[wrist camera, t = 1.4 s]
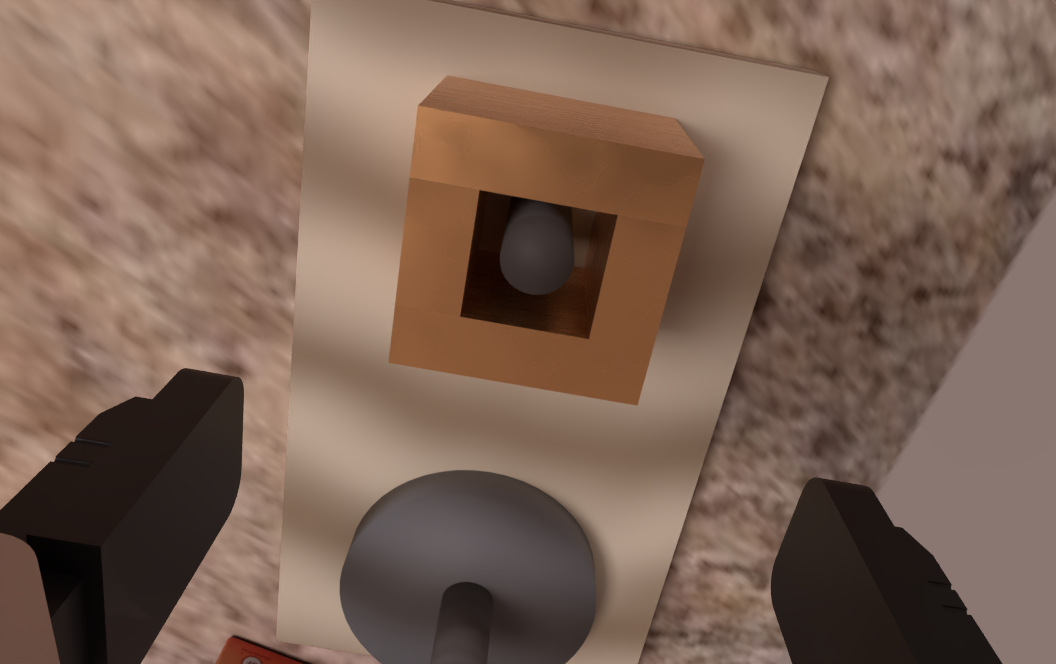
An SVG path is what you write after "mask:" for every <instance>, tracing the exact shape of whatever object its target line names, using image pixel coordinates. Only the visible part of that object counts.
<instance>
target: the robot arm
mask: <svg viewBox="0 0 1056 664" xmlns="http://www.w3.org/2000/svg"><path fill="white" fill-rule="evenodd" d="M243 406H244V388H243V382H242V380H241V379H240V378H239V377H235V376H229V375H223V374H217V373H211V372H205V371H200V370H194V369H188V368H183V369H181V370H180V371H179V372H178V373H177V374H176V375H175V376H174V377H173V378H172V379H171V380H170V381H169V382H168V383H167V385H166V386H165V387H164V388H163V389H162V390H161V391H160V392H159V393H158V394H157V395H156V396H155V397H154V398H153V399H147V398H141V397H134V398H132V399H129V400H127V401H125V402H123V403H121V404H119V405H117V406H115V407H113V408H111V409H108V410H106V411H104V412H102V413H100V414H99V415H98V416H97V417H96V418H95V419H94V420H93V421H92V422H91V423H89V424H88V425H87V426H86V427H85V428H84V429H83V430H82V431H81V432H80V433H79V434H78V435H77V436H76V439H75V442H70V443H69V444H68V445H67V446H66V447H65V448H64V449H63V450H62V451H61V452H60V453H59V454H58V455H57V456H56V459H55V461H54V462H51V461H50V462H49V463H48V464H47V465H46V466H45V467H44V468H43V469H42V470H41V471H40V472H39V473H38V474H37V475H36V476H35V477H34V478H33V479H32V480H31V481H30V482H29V483H28V484H27V485H26V486H25V487H24V488H23V489H22V490H21V491H20V492H19V493H18V494H17V495H15V496H14V497H13V498H12V499H11V500H10V501H9V502H8V503H7V504H6V505H5V506H4V507H3V508H2V509H1V510H0V664H141V662H142V660H143V659H144V657H145V655H146V654H147V652H148V650H149V649H150V647H151V645H152V644H153V642H154V640H155V639H156V637H157V635H158V634H159V632H160V630H161V629H162V627H163V625H164V624H165V622H166V620H167V619H168V617H169V615H170V614H171V612H172V610H173V609H174V607H175V605H176V604H177V602H178V600H179V599H180V597H181V595H182V594H183V592H184V590H185V589H186V587H187V585H188V584H189V582H190V580H191V579H192V577H193V575H194V574H195V572H196V570H197V569H198V567H199V565H200V564H201V562H202V560H203V559H204V557H205V555H206V554H207V552H208V550H209V549H210V547H211V545H212V544H213V542H214V540H215V538H216V537H217V535H218V533H219V532H220V530H221V528H222V527H223V525H224V523H225V522H226V520H227V518H228V517H229V515H230V513H231V511H232V508H233V506H234V503H235V500H236V497H237V493H238V489H239V484H240V479H241V467H242V437H243ZM771 598H772V604H773V608H774V611H775V614H776V617H777V620H778V623H779V626H780V629H781V632H782V635H783V638H784V641H785V644H786V647H787V649H788V652H789V655H790V658H791V661H792V664H1002V663H1001V661H1000V659H999V658H998V656H997V655H996V653H995V652H994V650H993V649H992V647H991V645H990V644H989V642H988V641H987V639H986V638H985V636H984V634H983V633H982V631H981V630H980V628H979V627H978V625H977V624H976V622H975V620H974V619H973V617H972V616H971V615H967V608H966V606H965V605H964V603H963V602H962V600H961V599H960V597H959V595H958V594H957V592H956V591H955V590H951V583H950V581H949V580H948V578H947V577H946V575H945V574H944V572H943V571H942V569H941V567H940V566H939V564H938V563H937V561H936V559H935V558H934V556H933V555H932V554H931V553H930V552H929V551H927V550H926V549H925V548H924V547H923V546H922V545H920V543H918V542H917V541H916V540H915V539H914V538H913V537H912V536H911V535H910V534H908V533H907V532H906V531H905V530H904V529H903V528H900V527H894V525H893V523H892V522H891V520H890V518H889V517H888V515H887V513H886V512H885V510H884V509H883V507H882V505H881V503H880V502H879V500H878V498H877V497H876V495H875V493H874V492H873V491H872V489H870V488H869V487H867V486H863V485H857V484H852V483H846V482H840V481H834V480H828V479H822V478H812V479H811V480H809V481H808V482H807V484H806V485H805V487H804V489H803V491H802V493H801V496H800V498H799V501H798V504H797V506H796V509H795V511H794V514H793V516H792V519H791V521H790V524H789V526H788V529H787V532H786V534H785V537H784V539H783V542H782V544H781V547H780V549H779V552H778V554H777V557H776V560H775V563H774V566H773V571H772V577H771Z"/></svg>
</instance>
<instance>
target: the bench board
mask: <svg viewBox="0 0 1056 664" xmlns="http://www.w3.org/2000/svg"><path fill="white" fill-rule="evenodd" d="M447 75H448V76H453V77H459V78H464V79H469V80H475V81H480V82H485V83H491V84H496V85H501V86H507V87H512V88H517V89H523V90H528V91H533V92H538V93H544V94H549V95H554V96H560V97H565V98H570V99H576V100H581V101H586V102H592V103H597V104H602V105H607V106H613V107H618V108H623V109H629V110H634V111H639V112H645V113H650V114H655V115H661V116H666V117H671V118H675V119H676V120H677V122H678V123H679V124H680V126H681V127H682V129H683V130H684V131H685V133H686V134H687V135H688V137H689V138H690V139H691V141H692V142H693V144H694V145H695V146H696V148H697V149H698V150H699V152H700V153H701V155H702V156H703V157H704V159H705V161H704V164H703V168H702V172H701V175H700V179H699V183H698V186H697V190H696V194H695V197H694V201H693V205H692V208H691V212H690V216H689V219H688V223H687V227H686V230H685V234H684V238H683V241H682V245H681V249H680V252H679V256H678V260H677V263H676V267H675V271H674V274H673V278H672V281H671V285H670V289H669V292H668V296H667V300H666V303H665V307H664V311H663V314H662V318H661V322H660V325H659V329H658V333H657V336H656V340H655V344H654V347H653V351H652V355H651V358H650V362H649V366H648V369H647V373H646V377H645V380H644V384H643V388H642V391H641V395H640V399H639V402H638V406H636V405H630V404H625V403H619V402H613V401H607V400H601V399H596V398H590V397H584V396H578V395H572V394H567V393H561V392H555V391H549V390H543V389H538V388H532V387H526V386H520V385H514V384H509V383H503V382H497V381H491V380H485V379H479V378H474V377H468V376H462V375H456V374H450V373H445V372H439V371H433V370H427V369H421V368H416V367H410V366H404V365H398V364H392V363H388V362H389V353H390V344H391V335H392V327H393V318H394V309H395V300H396V292H397V283H398V274H399V265H400V257H401V248H402V239H403V231H404V222H405V213H406V204H407V196H408V187H409V178H410V169H411V161H412V152H413V143H414V134H415V126H416V117H417V108H418V105H419V104H420V103H421V102H422V101H423V100H424V99H425V98H426V97H427V96H428V95H429V93H430V92H431V91H432V90H433V89H434V88H435V87H436V86H437V85H438V84H439V83H440V82H441V81H442V80H443V79H444V78H445V77H446V76H447ZM828 79H829V77H827V76H825V75H823V74H821V73H818V72H816V71H814V70H809V69H804V68H799V67H794V66H789V65H783V64H778V63H773V62H768V61H763V60H757V59H752V58H747V57H742V56H737V55H731V54H726V53H721V52H716V51H711V50H705V49H700V48H695V47H690V46H685V45H679V44H674V43H669V42H664V41H659V40H653V39H648V38H643V37H638V36H633V35H627V34H622V33H617V32H612V31H607V30H602V29H596V28H591V27H586V26H581V25H576V24H570V23H565V22H560V21H555V20H550V19H544V18H539V17H534V16H529V15H524V14H518V13H513V12H508V11H503V10H498V9H492V8H487V7H482V6H477V5H472V4H466V3H461V2H456V1H451V0H312V3H311V21H310V39H309V57H308V75H307V93H306V111H305V129H304V147H303V165H302V183H301V201H300V219H299V237H298V255H297V273H296V291H295V309H294V327H293V345H292V363H291V381H290V399H289V417H288V435H287V453H286V471H285V489H284V507H283V525H282V543H281V561H280V579H279V597H278V615H277V633H276V641H280V642H286V643H293V644H299V645H306V646H312V647H318V648H325V649H331V650H338V651H344V652H350V653H357V654H363V655H370V656H373V657H374V658H376V659H377V660H378V661H379V662H380V663H382V664H638V662H639V659H640V656H641V652H642V649H643V646H644V643H645V640H646V637H647V634H648V631H649V628H650V625H651V622H652V619H653V616H654V613H655V610H656V606H657V603H658V600H659V597H660V594H661V591H662V588H663V585H664V582H665V579H666V576H667V573H668V570H669V567H670V564H671V561H672V557H673V554H674V551H675V548H676V545H677V542H678V539H679V536H680V533H681V530H682V527H683V524H684V521H685V518H686V515H687V511H688V508H689V505H690V502H691V499H692V496H693V493H694V490H695V487H696V484H697V481H698V478H699V475H700V472H701V469H702V465H703V462H704V459H705V456H706V453H707V450H708V447H709V444H710V441H711V438H712V435H713V432H714V429H715V426H716V423H717V420H718V416H719V413H720V410H721V407H722V404H723V401H724V398H725V395H726V392H727V389H728V386H729V383H730V380H731V377H732V374H733V370H734V367H735V364H736V361H737V358H738V355H739V352H740V349H741V346H742V343H743V340H744V337H745V334H746V331H747V328H748V325H749V321H750V318H751V315H752V312H753V309H754V306H755V303H756V300H757V297H758V294H759V291H760V288H761V285H762V282H763V279H764V275H765V272H766V269H767V266H768V263H769V260H770V257H771V254H772V251H773V248H774V245H775V242H776V239H777V236H778V233H779V229H780V226H781V223H782V220H783V217H784V214H785V211H786V208H787V205H788V202H789V199H790V196H791V193H792V190H793V187H794V184H795V180H796V177H797V174H798V171H799V168H800V165H801V162H802V159H803V156H804V153H805V150H806V147H807V144H808V141H809V138H810V134H811V131H812V128H813V125H814V122H815V119H816V116H817V113H818V110H819V107H820V104H821V101H822V98H823V95H824V92H825V89H826V85H827V82H828ZM595 212H596V211H592V210H587V209H581V208H576V207H570V206H565V205H559V204H554V203H548V202H543V201H537V200H532V199H526V198H521V197H515V196H510V195H504V194H499V193H493V192H488V194H487V200H486V206H485V212H484V219H483V225H482V231H481V238H480V244H479V249H481V250H487V251H492V252H498V253H500V266H501V270H502V273H503V275H504V277H505V278H506V280H507V281H508V282H509V283H510V284H511V285H512V286H513V287H515V288H516V289H518V290H520V291H521V292H524V293H527V294H533V295H542V294H547V293H550V292H553V291H555V290H557V289H558V288H560V287H561V286H562V285H563V284H564V283H565V282H566V281H567V280H568V278H569V277H570V275H571V273H572V270H573V267H574V266H576V267H582V268H583V266H584V262H585V257H586V253H587V248H588V244H589V239H590V235H591V230H592V226H593V221H594V216H595Z"/></svg>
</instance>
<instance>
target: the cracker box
mask: <svg viewBox="0 0 1056 664" xmlns="http://www.w3.org/2000/svg"><path fill="white" fill-rule="evenodd" d="M215 664H303V663H300V662H297V661H295V660H292V659H290V658H287V657H284V656H282V655H279V654H277V653H274V652H271V651H269V650H266V649H263V648H261V647H258V646H256V645H253V644H250V643H247V642H245V641H243V640H240V639H238V638H234V637H230V638H229V639H228V640H227V642H226V644H225V646H224V648H223V650H222V652H221V654H220V656H219V658H218V659H217V661H216V663H215Z"/></svg>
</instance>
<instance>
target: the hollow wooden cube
mask: <svg viewBox="0 0 1056 664" xmlns="http://www.w3.org/2000/svg"><path fill="white" fill-rule="evenodd" d="M704 161H705V159H704V157H703V156H702V155H701V153H700V152H699V150H698V149H697V148H696V146H695V145H694V144H693V142H692V141H691V139H690V138H689V137H688V135H687V134H686V133H685V131H684V130H683V129H682V127H681V126H680V124H679V123H678V122H677V120H676V119H675V118H671V117H666V116H661V115H655V114H650V113H645V112H639V111H634V110H629V109H623V108H618V107H613V106H607V105H602V104H597V103H592V102H586V101H581V100H576V99H570V98H565V97H560V96H554V95H549V94H544V93H538V92H533V91H528V90H523V89H517V88H512V87H507V86H501V85H496V84H491V83H485V82H480V81H475V80H469V79H464V78H459V77H453V76H448V75H447V76H446V77H445V78H444V79H443V80H442V81H441V82H440V83H439V84H438V85H437V86H436V87H435V88H434V89H433V90H432V91H431V92H430V93H429V95H428V96H427V97H426V98H425V99H424V100H423V101H422V102H421V103H420V104H419V105H418V108H417V117H416V126H415V134H414V143H413V152H412V161H411V169H410V178H409V187H408V196H407V204H406V213H405V222H404V231H403V239H402V248H401V257H400V265H399V274H398V283H397V292H396V300H395V309H394V318H393V327H392V335H391V344H390V353H389V362H388V363H392V364H398V365H404V366H410V367H416V368H421V369H427V370H433V371H439V372H445V373H450V374H456V375H462V376H468V377H474V378H479V379H485V380H491V381H497V382H503V383H509V384H514V385H520V386H526V387H532V388H538V389H543V390H549V391H555V392H561V393H567V394H572V395H578V396H584V397H590V398H596V399H601V400H607V401H613V402H619V403H625V404H630V405H636V406H638V402H639V399H640V395H641V391H642V388H643V384H644V380H645V377H646V373H647V369H648V366H649V362H650V358H651V355H652V351H653V347H654V344H655V340H656V336H657V333H658V329H659V325H660V322H661V318H662V314H663V311H664V307H665V303H666V300H667V296H668V292H669V289H670V285H671V281H672V278H673V274H674V271H675V267H676V263H677V260H678V256H679V252H680V249H681V245H682V241H683V238H684V234H685V230H686V227H687V223H688V219H689V216H690V212H691V208H692V205H693V201H694V197H695V194H696V190H697V186H698V183H699V179H700V175H701V172H702V168H703V164H704ZM488 192H493V193H499V194H504V195H510V196H515V197H521V198H526V199H532V200H537V201H543V202H548V203H554V204H559V205H565V206H570V207H576V208H581V209H587V210H592V211H596V212H595V216H594V221H593V226H592V230H591V235H590V239H589V244H588V248H587V253H586V257H585V262H584V266H583V268H582V267H576V266H574V267H573V270H572V273H571V275H570V277H569V278H568V280H567V281H566V282H565V283H564V284H563V285H562V286H561V287H560V288H558V289H557V290H555V291H553V292H550V293H547V294H542V295H533V294H527V293H524V292H521V291H520V290H518V289H516V288H515V287H513V286H512V285H511V284H510V283H509V282H508V281H507V280H506V278H505V277H504V275H503V273H502V270H501V266H500V253H498V252H492V251H487V250H481V249H479V244H480V238H481V231H482V225H483V219H484V212H485V206H486V200H487V194H488Z"/></svg>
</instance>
